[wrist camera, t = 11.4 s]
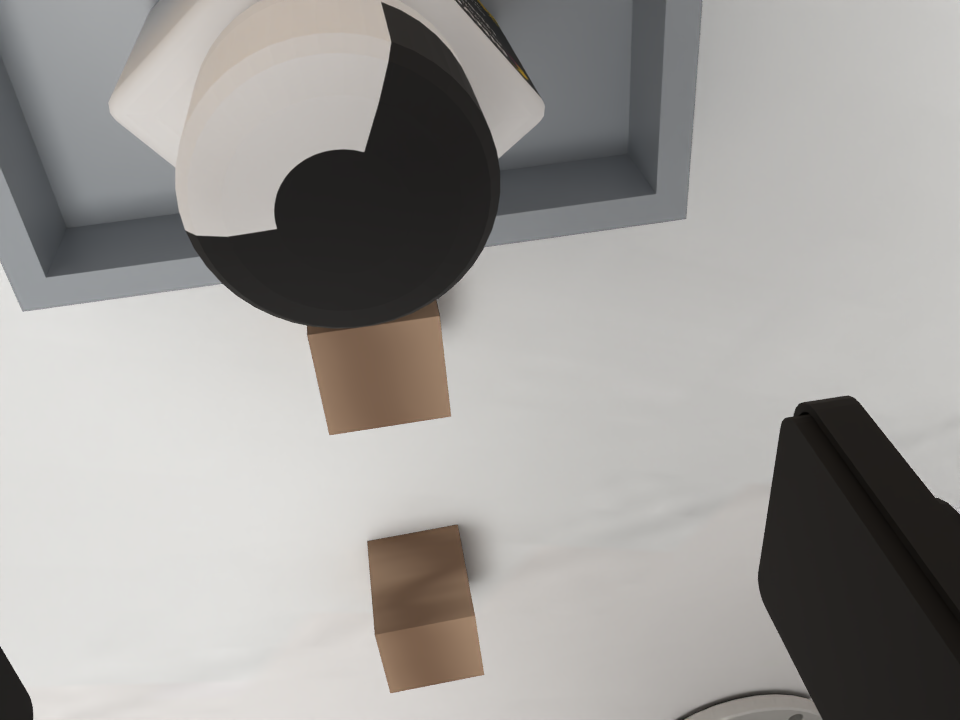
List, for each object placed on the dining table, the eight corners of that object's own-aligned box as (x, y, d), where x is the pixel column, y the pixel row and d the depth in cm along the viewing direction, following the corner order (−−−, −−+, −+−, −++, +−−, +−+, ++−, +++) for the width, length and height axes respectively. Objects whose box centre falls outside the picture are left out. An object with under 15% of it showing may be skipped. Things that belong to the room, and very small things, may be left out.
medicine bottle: (501, 25, 27) (611, 211, 18) (332, 184, 29) (348, 427, 20) (321, -183, 23) (337, -91, 14) (142, 17, 25) (48, 218, 16)
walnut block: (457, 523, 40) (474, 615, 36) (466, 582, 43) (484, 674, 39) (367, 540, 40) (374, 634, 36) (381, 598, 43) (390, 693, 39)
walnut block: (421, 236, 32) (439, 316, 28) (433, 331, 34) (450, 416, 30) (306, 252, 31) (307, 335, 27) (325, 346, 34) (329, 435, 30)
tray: (670, -298, 24) (724, -295, 21) (648, 167, 32) (686, 219, 28) (-139, -225, 22) (-208, -210, 19) (50, 247, 30) (22, 311, 27)
